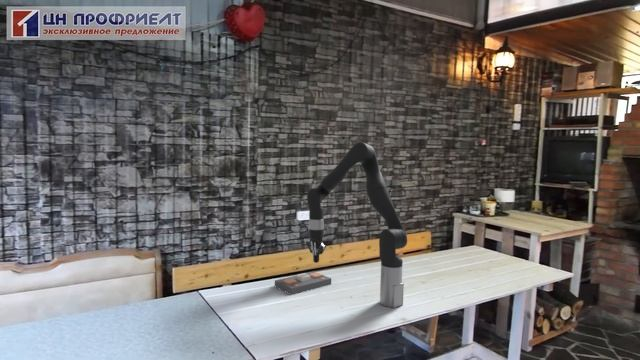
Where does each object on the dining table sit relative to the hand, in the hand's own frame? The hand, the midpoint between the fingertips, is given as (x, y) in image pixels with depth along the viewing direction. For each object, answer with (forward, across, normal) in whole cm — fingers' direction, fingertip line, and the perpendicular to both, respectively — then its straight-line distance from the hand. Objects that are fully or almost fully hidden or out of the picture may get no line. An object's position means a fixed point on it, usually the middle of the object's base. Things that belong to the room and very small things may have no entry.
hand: (316, 262), depth 205 cm
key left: (+9, +1, +16) cm, 18 cm away
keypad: (+10, 0, +8) cm, 13 cm away
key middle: (+8, 0, +8) cm, 11 cm away
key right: (+9, 0, 0) cm, 9 cm away
